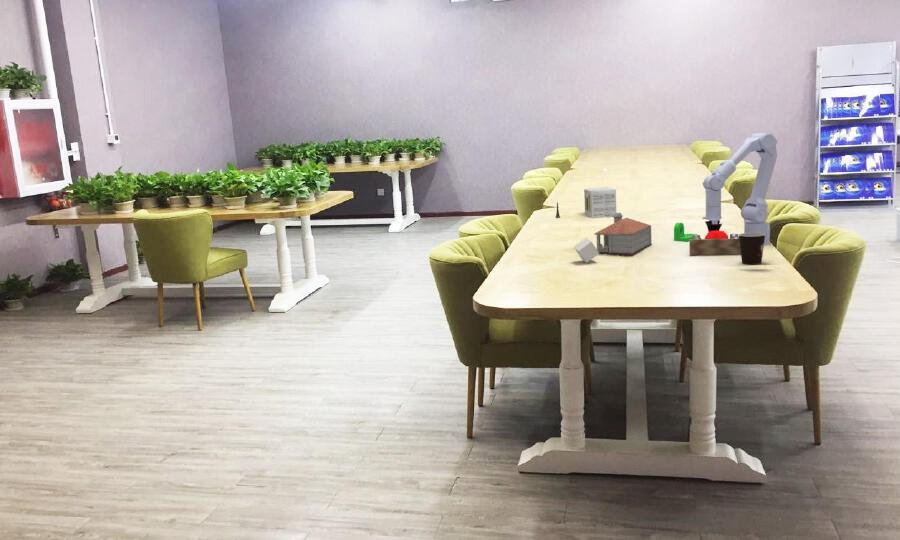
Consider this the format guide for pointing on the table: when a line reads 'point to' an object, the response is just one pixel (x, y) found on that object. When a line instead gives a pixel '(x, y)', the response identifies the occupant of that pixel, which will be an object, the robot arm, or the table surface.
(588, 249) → the light grey cube
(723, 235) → the red black angular block
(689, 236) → the mechanical part
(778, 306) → the table surface
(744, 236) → the coffee mug
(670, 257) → the table surface
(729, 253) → the backstop
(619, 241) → the model house
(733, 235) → the grey round piece
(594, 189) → the supplement box
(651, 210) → the table surface
